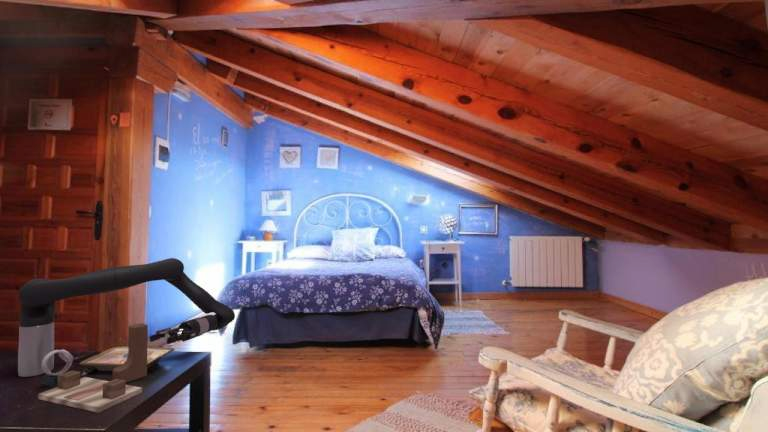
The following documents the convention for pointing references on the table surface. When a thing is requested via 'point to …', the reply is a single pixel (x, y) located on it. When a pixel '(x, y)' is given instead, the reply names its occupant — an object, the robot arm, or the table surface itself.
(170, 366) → the table surface
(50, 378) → the watch
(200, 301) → the robot arm
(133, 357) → the wooden block
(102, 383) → the striped wooden base
